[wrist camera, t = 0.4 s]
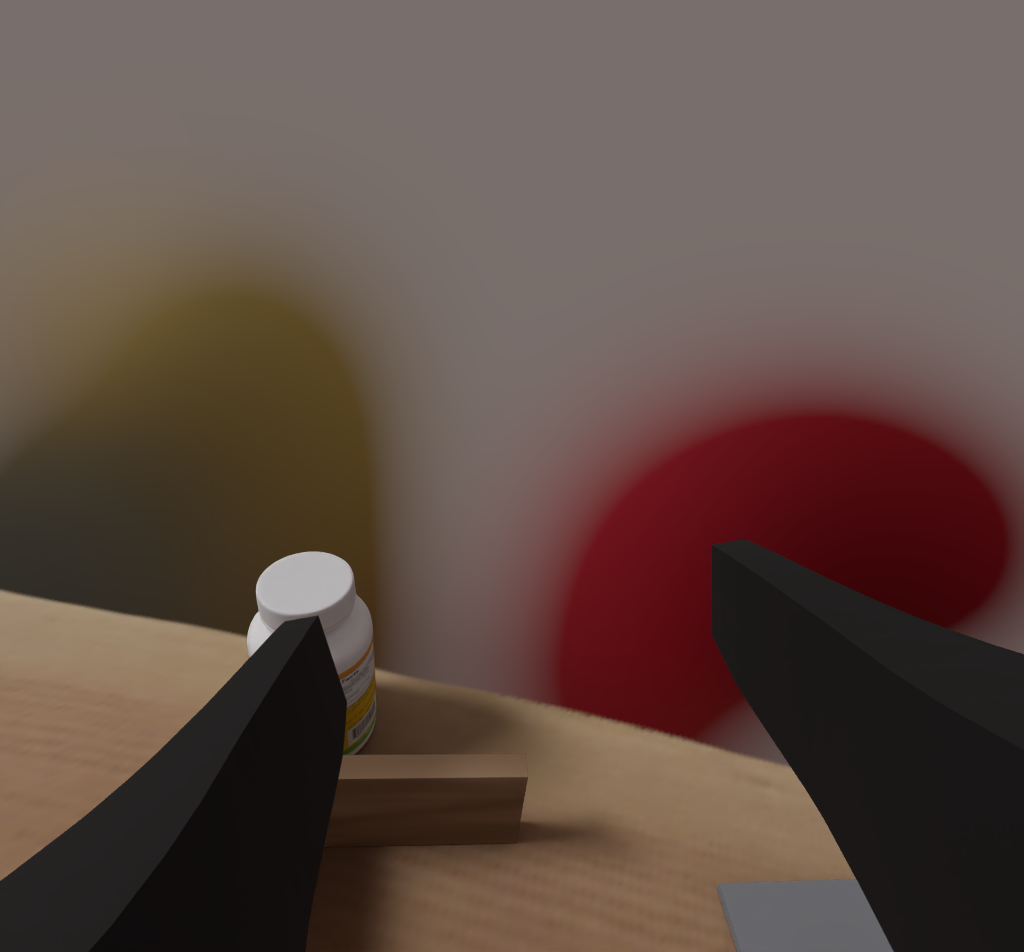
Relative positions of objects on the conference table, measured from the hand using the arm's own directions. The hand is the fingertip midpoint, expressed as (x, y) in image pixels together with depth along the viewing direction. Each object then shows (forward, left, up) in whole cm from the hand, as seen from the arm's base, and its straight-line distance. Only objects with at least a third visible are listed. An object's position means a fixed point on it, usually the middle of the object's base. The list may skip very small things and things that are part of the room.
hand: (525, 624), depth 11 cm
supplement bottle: (+12, +7, -20) cm, 24 cm away
